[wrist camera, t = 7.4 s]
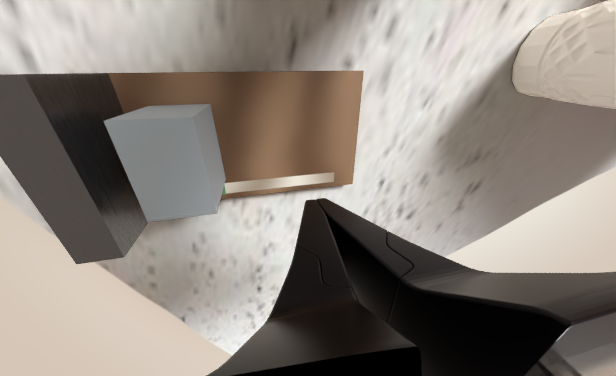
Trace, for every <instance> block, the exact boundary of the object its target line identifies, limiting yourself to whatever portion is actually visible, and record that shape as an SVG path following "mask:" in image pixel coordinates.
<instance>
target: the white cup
mask: <svg viewBox="0 0 616 376" xmlns="http://www.w3.org/2000/svg"><path fill="white" fill-rule="evenodd" d="M512 82H513V84H514V86H515V88H516V90H517V92H520V93H522V94H525V95H529V96H536V97H544V98H550V99H552V100H557V101H564V102H570V103H576V104H582V105H589V106H596V107H603V108H611V109H616V0H609V1H604V2H600V3H597V4H595V5H593V6H590V7H586V8H583V9H578V10H574V11H569V12H565V13H561V14H558V15H554V16H550V17H548V18H547V19H546V20H544V21H543V22H542V23H541V24H539V25H538V26H537V27H536V28H534V29H533V30H532V32H531V33H530V34H529V36H528V37H527V38H526V40H525V41H524V43H523V44H522V46H521V47H520V49H519V52H518V54H517V57H516V60H515V62H514V65H513V77H512Z"/></svg>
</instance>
